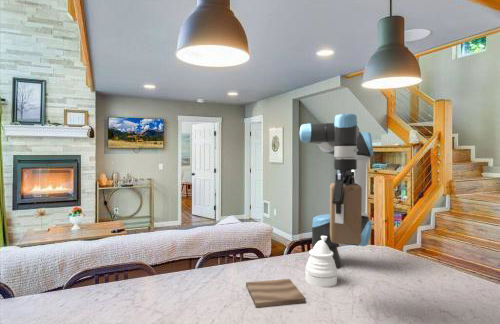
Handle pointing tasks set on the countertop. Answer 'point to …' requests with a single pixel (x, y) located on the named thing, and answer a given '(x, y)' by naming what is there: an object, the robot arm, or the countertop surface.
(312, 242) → the robot arm
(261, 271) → the countertop surface
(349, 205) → the wooden block
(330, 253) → the honey pot
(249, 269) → the countertop surface
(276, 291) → the walnut board
